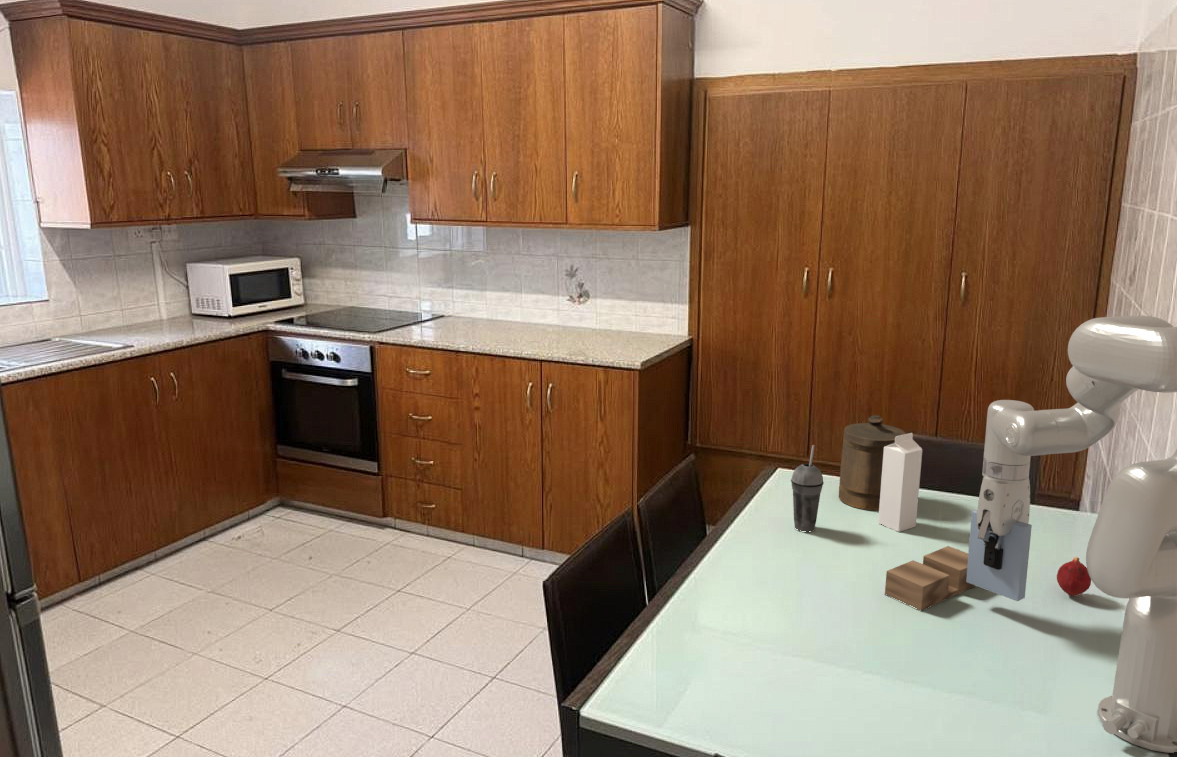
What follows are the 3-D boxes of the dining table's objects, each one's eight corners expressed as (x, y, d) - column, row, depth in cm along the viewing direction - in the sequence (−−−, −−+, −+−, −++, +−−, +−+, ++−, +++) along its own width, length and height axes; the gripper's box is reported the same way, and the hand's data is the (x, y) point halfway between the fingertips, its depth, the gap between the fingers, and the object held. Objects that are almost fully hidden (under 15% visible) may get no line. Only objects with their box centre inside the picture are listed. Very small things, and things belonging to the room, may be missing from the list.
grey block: (1017, 601, 154) (1024, 527, 151) (966, 581, 162) (971, 511, 159) (1024, 597, 155) (1031, 524, 152) (973, 578, 163) (979, 509, 160)
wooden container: (913, 506, 211) (920, 420, 206) (864, 514, 206) (870, 427, 201) (873, 486, 224) (879, 405, 219) (826, 494, 219) (831, 411, 214)
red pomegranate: (1093, 604, 162) (1098, 565, 160) (1060, 601, 163) (1065, 562, 161) (1082, 590, 168) (1087, 552, 166) (1050, 587, 169) (1055, 550, 167)
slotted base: (920, 611, 160) (923, 586, 159) (884, 594, 166) (886, 570, 165) (982, 582, 171) (984, 559, 170) (945, 568, 177) (948, 545, 176)
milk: (877, 523, 200) (883, 433, 195) (895, 518, 203) (901, 429, 198) (899, 532, 195) (906, 440, 190) (916, 526, 198) (923, 435, 193)
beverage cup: (781, 525, 200) (785, 443, 195) (807, 520, 202) (811, 439, 198) (802, 537, 193) (806, 452, 188) (827, 531, 196) (832, 448, 191)
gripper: (1000, 483, 146) (991, 583, 150) (1050, 466, 155) (1040, 561, 159) (960, 472, 152) (952, 568, 156) (1010, 456, 161) (1002, 548, 165)
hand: (997, 564), depth 157 cm, fingers closed on grey block, 2 cm apart
